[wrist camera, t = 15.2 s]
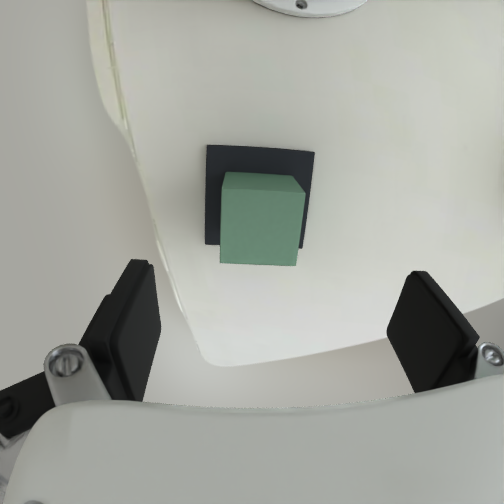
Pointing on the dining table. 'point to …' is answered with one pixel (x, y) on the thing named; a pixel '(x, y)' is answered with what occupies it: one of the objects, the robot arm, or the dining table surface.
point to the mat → (251, 162)
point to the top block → (260, 219)
